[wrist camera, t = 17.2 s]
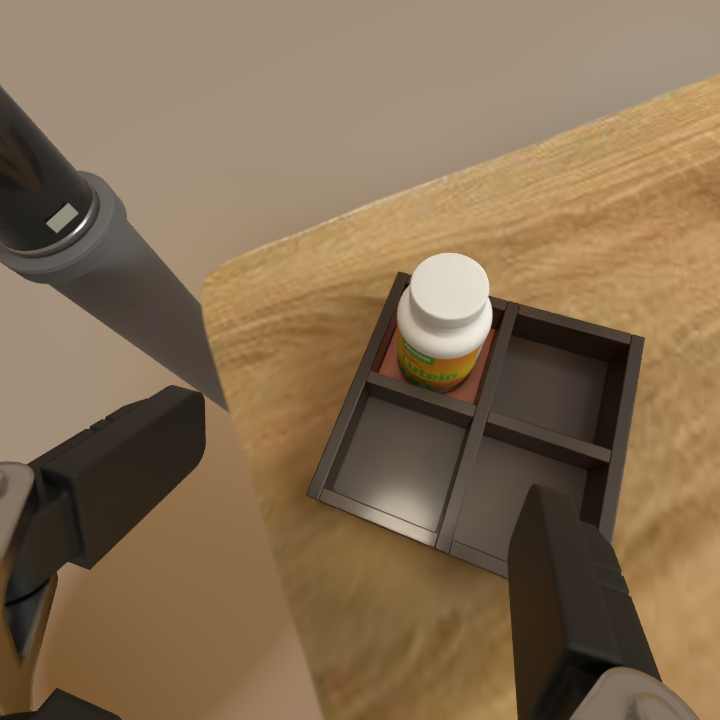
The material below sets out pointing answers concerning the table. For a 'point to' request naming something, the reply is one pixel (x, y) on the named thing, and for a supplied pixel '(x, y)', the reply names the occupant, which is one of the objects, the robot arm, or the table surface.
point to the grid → (485, 433)
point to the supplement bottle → (443, 321)
